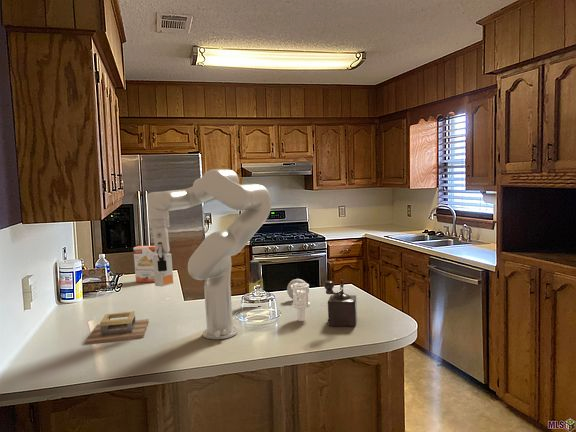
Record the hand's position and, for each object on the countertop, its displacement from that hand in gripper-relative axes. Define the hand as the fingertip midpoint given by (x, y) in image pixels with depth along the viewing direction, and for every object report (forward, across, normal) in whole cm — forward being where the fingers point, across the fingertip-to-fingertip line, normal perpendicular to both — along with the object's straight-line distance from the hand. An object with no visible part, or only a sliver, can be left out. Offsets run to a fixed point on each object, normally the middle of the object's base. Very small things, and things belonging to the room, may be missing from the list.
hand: (163, 268), depth 182 cm
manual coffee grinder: (+24, -21, -65) cm, 72 cm away
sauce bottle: (+24, +19, -38) cm, 48 cm away
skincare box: (+7, 0, 0) cm, 7 cm away
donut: (+24, +19, -57) cm, 64 cm away
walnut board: (+23, 0, +18) cm, 30 cm away
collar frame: (+22, 0, +18) cm, 29 cm away
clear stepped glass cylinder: (+24, -10, -52) cm, 58 cm away
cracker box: (+23, +94, +16) cm, 98 cm away
